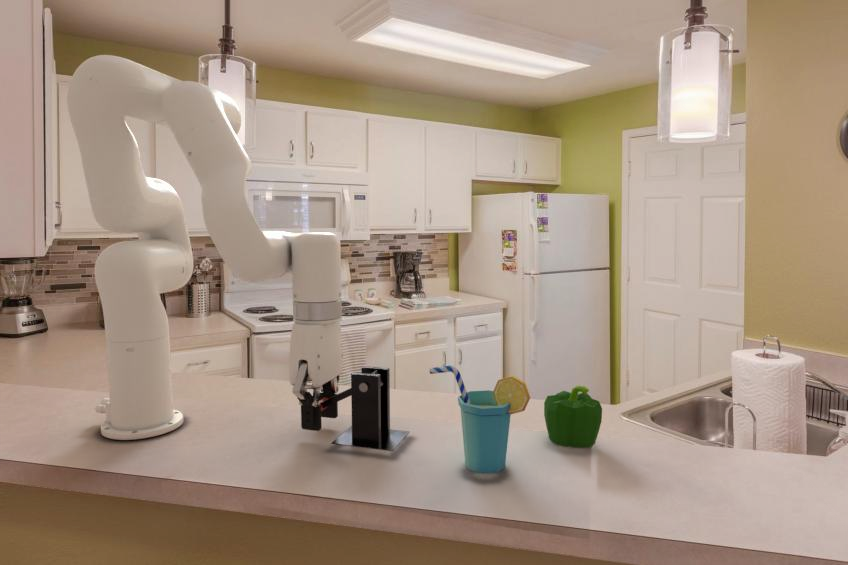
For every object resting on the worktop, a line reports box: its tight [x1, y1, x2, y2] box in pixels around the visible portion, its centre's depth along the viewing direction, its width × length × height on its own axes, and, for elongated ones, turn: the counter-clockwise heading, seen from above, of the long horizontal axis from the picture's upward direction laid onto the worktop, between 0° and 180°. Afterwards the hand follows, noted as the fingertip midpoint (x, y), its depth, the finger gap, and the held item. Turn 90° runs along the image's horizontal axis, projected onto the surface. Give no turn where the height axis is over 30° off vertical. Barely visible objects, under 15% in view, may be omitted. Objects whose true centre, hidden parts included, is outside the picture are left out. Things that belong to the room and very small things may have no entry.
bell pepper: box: [543, 385, 603, 449], centre depth 88 cm, size 8×8×10 cm
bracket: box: [331, 365, 410, 452], centre depth 89 cm, size 10×8×12 cm
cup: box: [428, 364, 531, 475], centre depth 79 cm, size 14×8×15 cm, turn 76°
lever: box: [318, 370, 384, 411], centre depth 90 cm, size 12×5×2 cm, turn 71°
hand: (320, 421), depth 92 cm, fingers closed on lever, 5 cm apart
